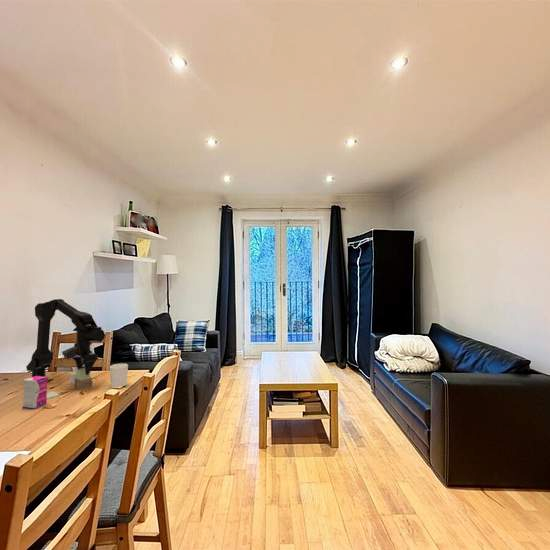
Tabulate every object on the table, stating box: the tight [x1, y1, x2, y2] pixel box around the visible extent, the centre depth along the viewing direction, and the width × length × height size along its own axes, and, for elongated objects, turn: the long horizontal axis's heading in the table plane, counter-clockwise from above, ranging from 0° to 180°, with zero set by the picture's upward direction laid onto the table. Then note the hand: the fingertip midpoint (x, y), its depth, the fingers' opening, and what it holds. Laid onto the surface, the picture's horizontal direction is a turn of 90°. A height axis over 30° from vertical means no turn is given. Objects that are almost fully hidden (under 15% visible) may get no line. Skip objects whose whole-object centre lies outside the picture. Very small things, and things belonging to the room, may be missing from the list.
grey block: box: [69, 371, 76, 384], centre depth 165 cm, size 4×4×4 cm
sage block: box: [75, 367, 91, 381], centre depth 158 cm, size 4×4×4 cm
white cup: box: [109, 363, 129, 387], centre depth 158 cm, size 8×8×10 cm
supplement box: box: [22, 376, 48, 410], centre depth 134 cm, size 6×6×12 cm
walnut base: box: [74, 377, 93, 391], centre depth 158 cm, size 6×6×4 cm
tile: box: [47, 391, 61, 400], centre depth 145 cm, size 7×7×1 cm
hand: (83, 373), depth 158 cm, fingers open, 9 cm apart
